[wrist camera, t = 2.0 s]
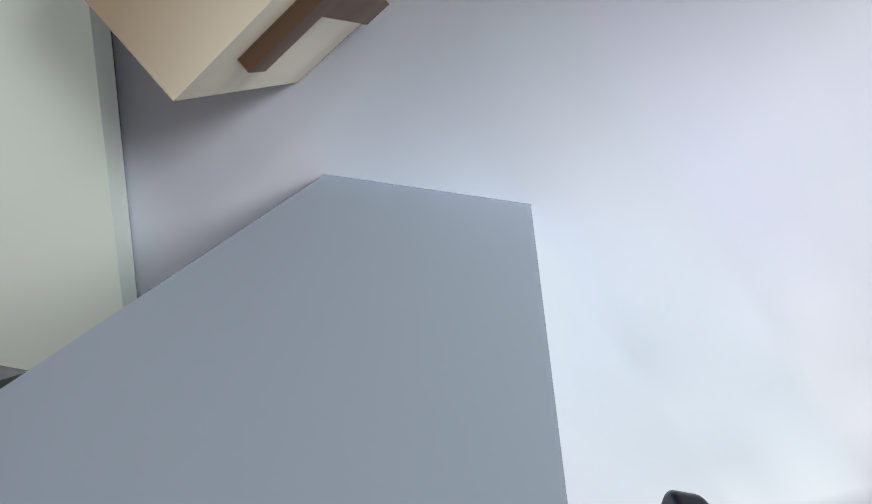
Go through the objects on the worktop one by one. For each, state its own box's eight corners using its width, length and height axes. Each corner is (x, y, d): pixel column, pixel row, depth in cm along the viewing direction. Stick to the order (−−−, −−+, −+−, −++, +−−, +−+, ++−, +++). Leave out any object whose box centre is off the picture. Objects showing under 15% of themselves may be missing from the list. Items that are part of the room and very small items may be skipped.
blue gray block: (530, 204, 13) (585, 636, 3) (497, 382, 14) (472, 984, 5) (324, 174, 13) (-144, 484, 4) (317, 351, 15) (-8, 855, 6)
